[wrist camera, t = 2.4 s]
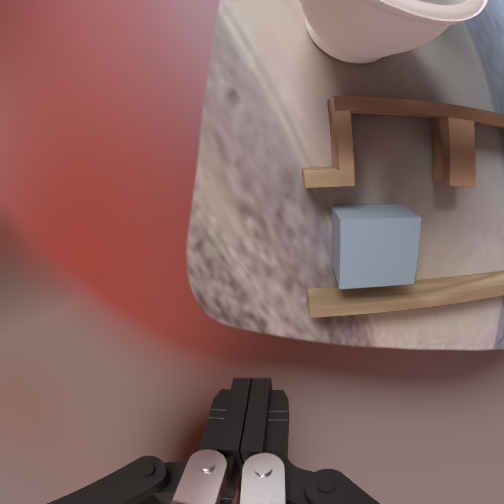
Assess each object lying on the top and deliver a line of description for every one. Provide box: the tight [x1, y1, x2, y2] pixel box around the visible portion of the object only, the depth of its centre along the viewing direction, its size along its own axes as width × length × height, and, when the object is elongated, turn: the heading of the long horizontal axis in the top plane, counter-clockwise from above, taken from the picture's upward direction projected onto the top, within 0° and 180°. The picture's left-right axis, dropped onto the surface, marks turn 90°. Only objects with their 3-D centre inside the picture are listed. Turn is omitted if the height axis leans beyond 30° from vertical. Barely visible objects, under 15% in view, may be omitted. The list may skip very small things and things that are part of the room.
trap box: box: [302, 96, 504, 318], centre depth 23 cm, size 19×35×4 cm, turn 96°
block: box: [331, 204, 422, 289], centre depth 25 cm, size 6×7×5 cm
